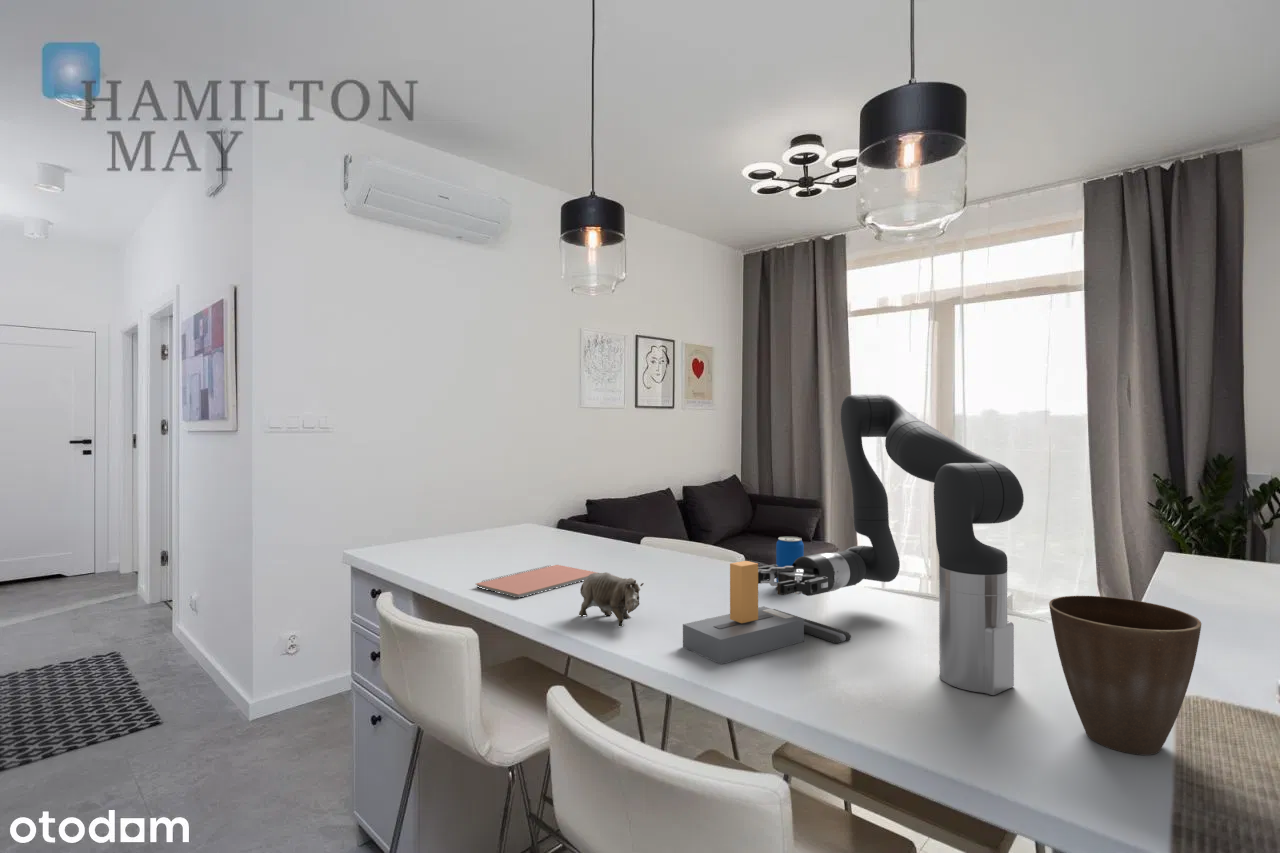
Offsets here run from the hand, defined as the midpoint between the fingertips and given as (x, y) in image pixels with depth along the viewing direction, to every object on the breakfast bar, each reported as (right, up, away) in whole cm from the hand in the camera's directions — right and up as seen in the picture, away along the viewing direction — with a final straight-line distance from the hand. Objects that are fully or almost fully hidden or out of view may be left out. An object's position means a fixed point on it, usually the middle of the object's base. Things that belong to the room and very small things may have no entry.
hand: (761, 584), depth 116 cm
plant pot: (+37, -10, -38) cm, 54 cm away
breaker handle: (-4, -6, -3) cm, 7 cm away
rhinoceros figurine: (-27, -10, +11) cm, 31 cm away
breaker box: (-4, -10, -3) cm, 11 cm away
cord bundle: (+7, -10, +5) cm, 13 cm away
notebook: (-48, -11, +43) cm, 65 cm away
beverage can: (+14, -10, +37) cm, 41 cm away
